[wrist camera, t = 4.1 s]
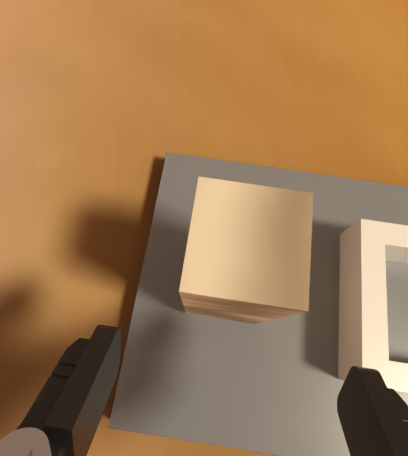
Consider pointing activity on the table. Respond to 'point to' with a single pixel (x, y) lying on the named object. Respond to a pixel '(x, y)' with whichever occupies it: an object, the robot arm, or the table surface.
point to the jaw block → (247, 252)
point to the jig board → (268, 322)
